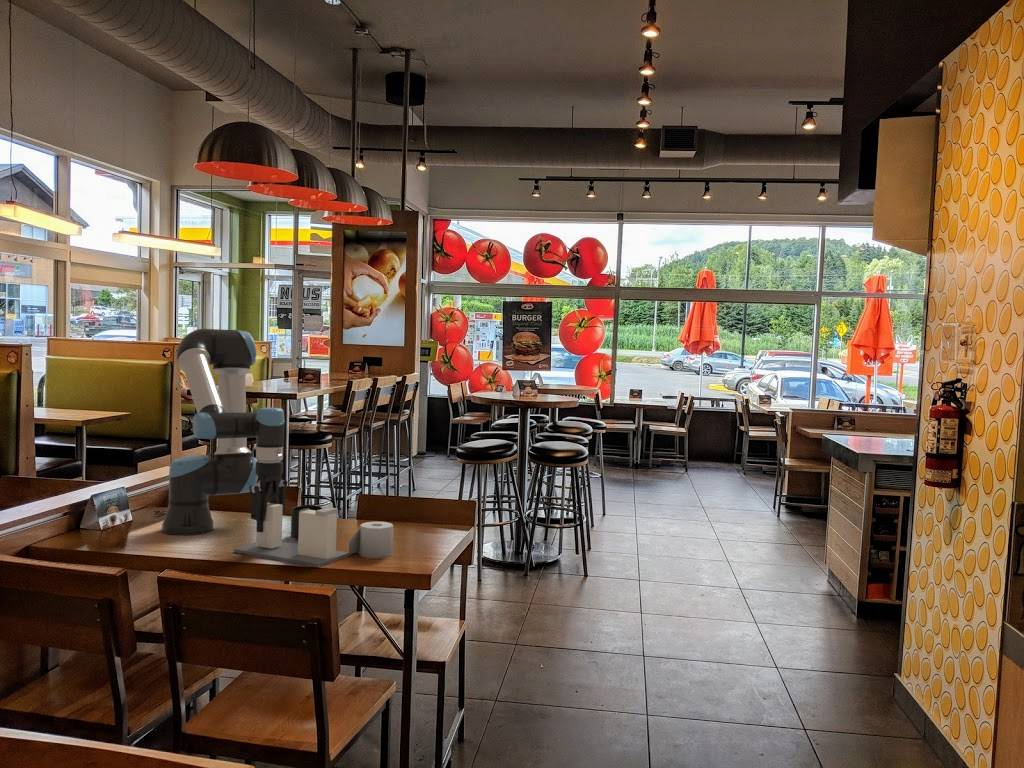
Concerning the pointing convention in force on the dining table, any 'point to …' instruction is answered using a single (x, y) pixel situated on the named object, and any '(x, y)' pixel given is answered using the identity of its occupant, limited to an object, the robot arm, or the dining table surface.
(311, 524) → the grey bookend stand
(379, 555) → the toilet tissue
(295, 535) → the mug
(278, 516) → the white upright block
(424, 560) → the dining table surface
